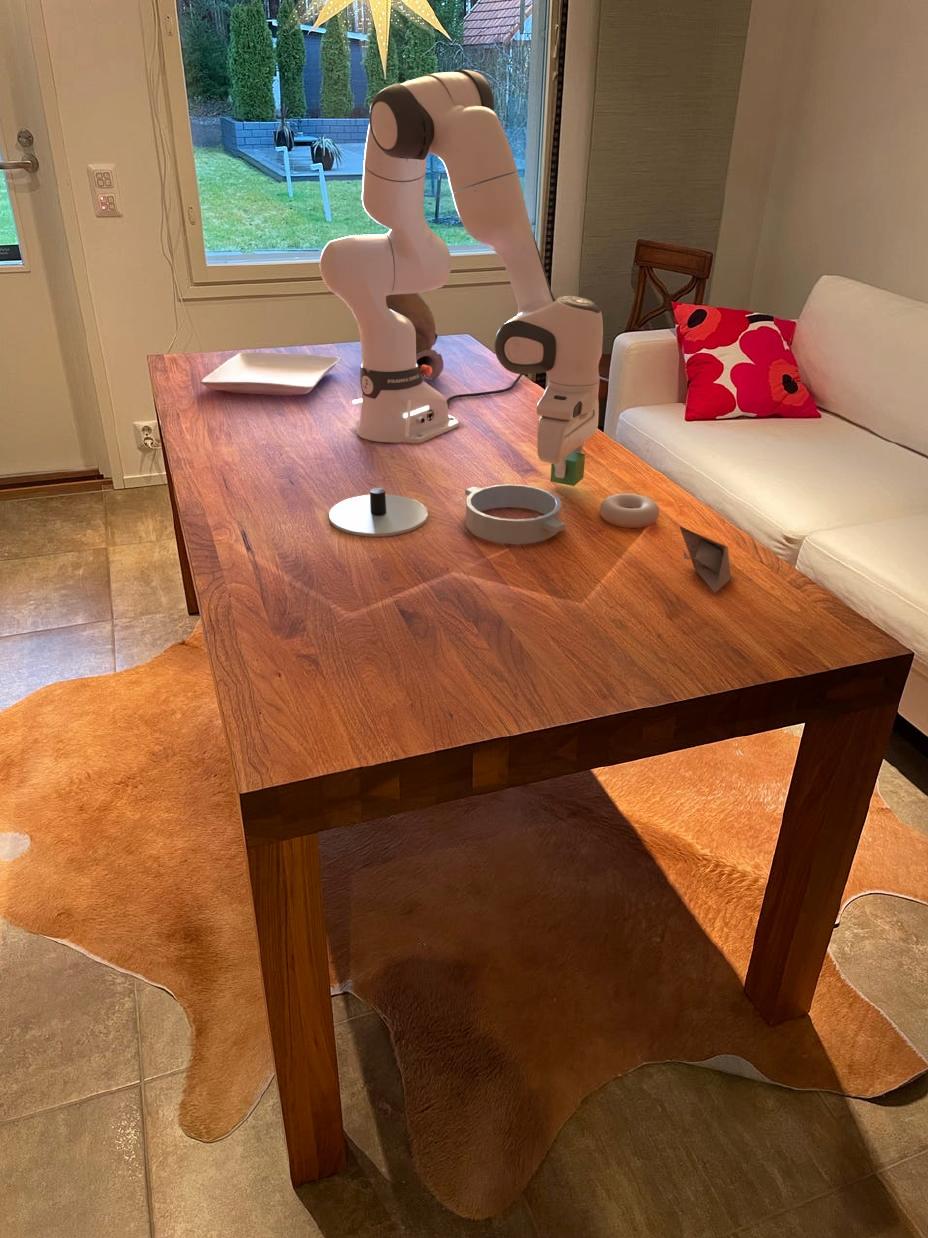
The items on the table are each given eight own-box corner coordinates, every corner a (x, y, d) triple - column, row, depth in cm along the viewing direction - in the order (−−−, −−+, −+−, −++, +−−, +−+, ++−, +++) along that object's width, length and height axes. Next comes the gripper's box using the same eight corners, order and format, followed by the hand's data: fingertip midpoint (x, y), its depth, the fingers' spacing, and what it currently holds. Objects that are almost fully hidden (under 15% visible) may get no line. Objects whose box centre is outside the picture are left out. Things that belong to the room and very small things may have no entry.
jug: (358, 355, 250) (394, 404, 229) (343, 285, 236) (380, 331, 215) (427, 335, 254) (468, 381, 233) (417, 265, 241) (460, 308, 220)
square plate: (240, 365, 240) (238, 350, 238) (342, 370, 236) (342, 355, 235) (200, 394, 216) (198, 378, 214) (313, 401, 213) (312, 384, 211)
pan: (501, 496, 165) (502, 472, 163) (591, 533, 152) (593, 508, 150) (436, 519, 156) (436, 495, 154) (525, 561, 143) (526, 534, 140)
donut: (653, 536, 152) (662, 512, 160) (655, 517, 150) (664, 494, 158) (593, 527, 154) (605, 504, 162) (595, 508, 153) (607, 486, 161)
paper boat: (757, 578, 136) (719, 579, 130) (726, 602, 140) (689, 604, 135) (718, 513, 141) (680, 512, 135) (690, 538, 145) (652, 538, 139)
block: (560, 473, 170) (561, 449, 167) (583, 478, 168) (585, 453, 165) (550, 481, 166) (551, 457, 164) (574, 486, 164) (575, 461, 162)
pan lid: (386, 492, 166) (385, 465, 163) (448, 521, 155) (448, 492, 153) (309, 517, 156) (307, 488, 153) (369, 549, 145) (368, 519, 143)
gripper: (577, 379, 169) (572, 451, 175) (532, 408, 153) (528, 486, 160) (610, 384, 166) (603, 457, 173) (567, 413, 150) (562, 493, 157)
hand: (567, 471), depth 166 cm, fingers closed on block, 4 cm apart
